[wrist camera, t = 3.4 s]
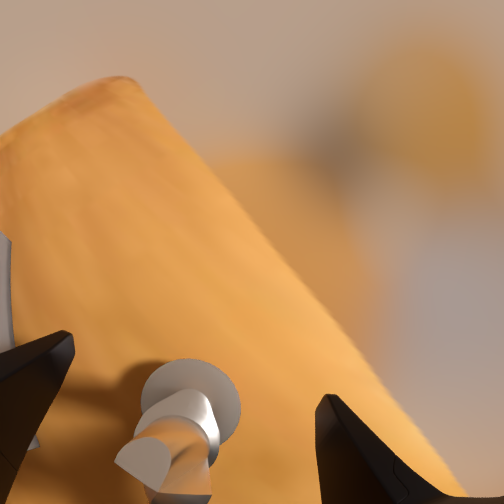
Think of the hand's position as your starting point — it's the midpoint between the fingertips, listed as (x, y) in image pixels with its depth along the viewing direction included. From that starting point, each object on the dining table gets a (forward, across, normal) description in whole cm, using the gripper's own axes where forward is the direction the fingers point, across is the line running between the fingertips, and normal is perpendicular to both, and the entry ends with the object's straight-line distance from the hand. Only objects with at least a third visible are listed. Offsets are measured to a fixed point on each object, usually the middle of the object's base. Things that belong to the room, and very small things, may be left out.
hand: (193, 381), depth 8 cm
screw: (+4, 0, +6) cm, 7 cm away
